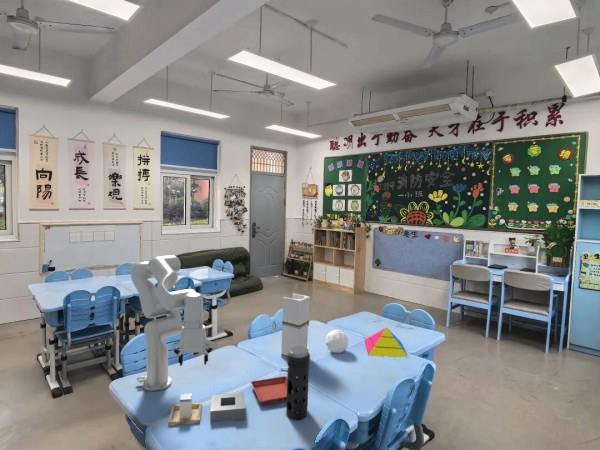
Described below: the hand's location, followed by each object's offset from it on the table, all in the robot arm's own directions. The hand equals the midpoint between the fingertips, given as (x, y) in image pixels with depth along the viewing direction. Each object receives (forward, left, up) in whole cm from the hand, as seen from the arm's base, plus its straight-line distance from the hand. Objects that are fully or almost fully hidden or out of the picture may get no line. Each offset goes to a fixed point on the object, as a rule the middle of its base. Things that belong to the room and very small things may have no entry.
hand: (193, 363), depth 149 cm
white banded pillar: (+52, +47, -22) cm, 73 cm away
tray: (-3, -2, -21) cm, 22 cm away
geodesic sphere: (+78, +50, -22) cm, 95 cm away
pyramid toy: (+110, +50, -22) cm, 123 cm away
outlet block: (+14, -2, -21) cm, 26 cm away
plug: (-3, -2, -21) cm, 21 cm away
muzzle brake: (+43, -7, -22) cm, 49 cm away
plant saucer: (+35, +10, -22) cm, 43 cm away
